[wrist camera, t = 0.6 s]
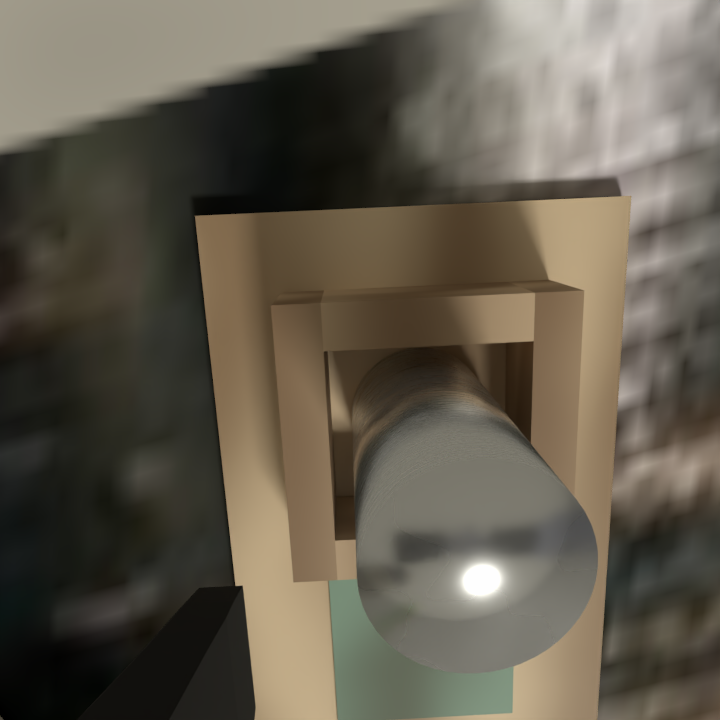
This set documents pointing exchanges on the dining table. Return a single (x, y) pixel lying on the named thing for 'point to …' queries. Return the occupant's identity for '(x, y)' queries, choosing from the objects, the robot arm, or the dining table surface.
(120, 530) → the dining table surface
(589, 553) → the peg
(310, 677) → the pocket board
